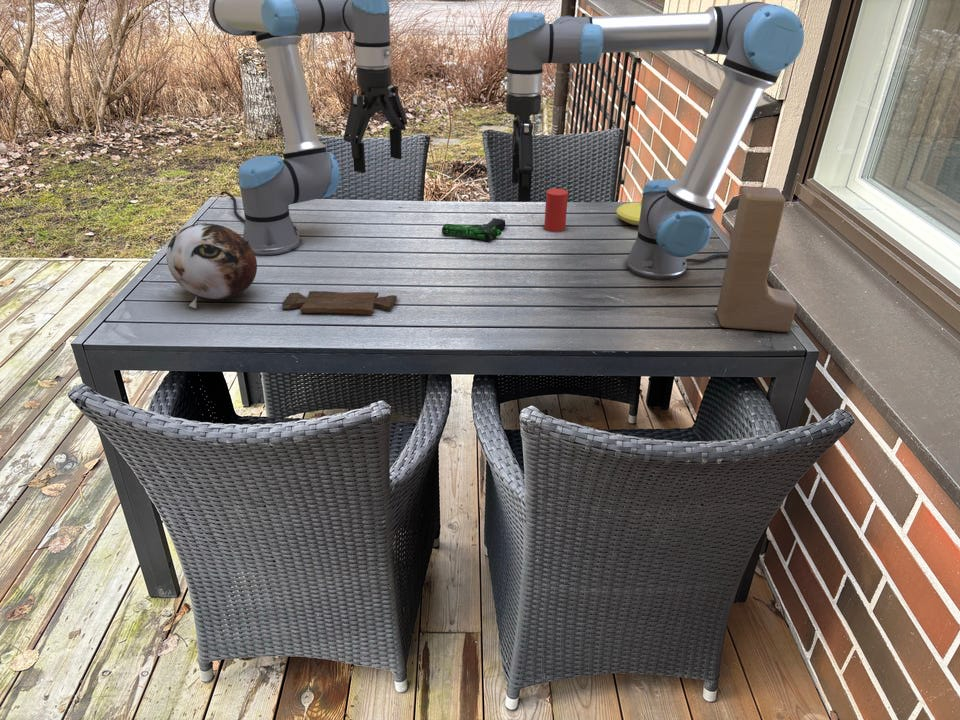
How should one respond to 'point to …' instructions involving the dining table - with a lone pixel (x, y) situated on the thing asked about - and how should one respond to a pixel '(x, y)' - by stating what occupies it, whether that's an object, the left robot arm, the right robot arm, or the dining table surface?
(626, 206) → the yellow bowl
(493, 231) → the handgun
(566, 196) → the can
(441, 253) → the dining table surface
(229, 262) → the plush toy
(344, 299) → the dark wooden board
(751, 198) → the decorative block
